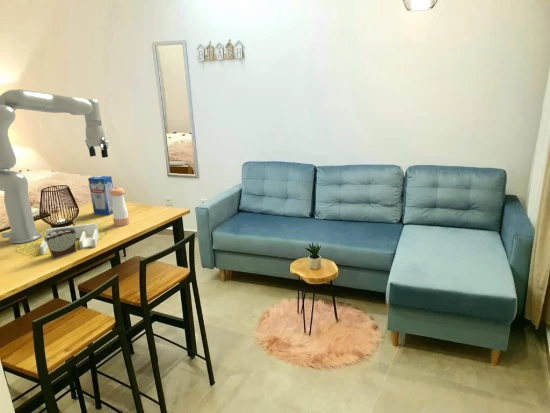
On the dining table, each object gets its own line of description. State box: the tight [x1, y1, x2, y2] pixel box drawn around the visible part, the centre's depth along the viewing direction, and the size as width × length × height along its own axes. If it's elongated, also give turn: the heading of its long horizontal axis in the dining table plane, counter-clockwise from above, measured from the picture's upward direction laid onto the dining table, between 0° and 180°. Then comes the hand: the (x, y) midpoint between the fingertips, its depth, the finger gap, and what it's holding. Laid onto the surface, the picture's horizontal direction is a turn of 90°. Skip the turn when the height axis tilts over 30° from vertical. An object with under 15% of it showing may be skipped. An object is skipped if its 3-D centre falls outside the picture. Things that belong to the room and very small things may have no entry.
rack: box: [39, 222, 99, 255], centre depth 178 cm, size 21×16×6 cm
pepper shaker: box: [110, 186, 130, 227], centre depth 202 cm, size 7×7×19 cm
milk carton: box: [87, 175, 114, 216], centre depth 221 cm, size 10×6×20 cm, turn 73°
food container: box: [43, 228, 77, 260], centre depth 168 cm, size 12×6×10 cm, turn 141°
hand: (99, 156), depth 215 cm, fingers open, 9 cm apart
